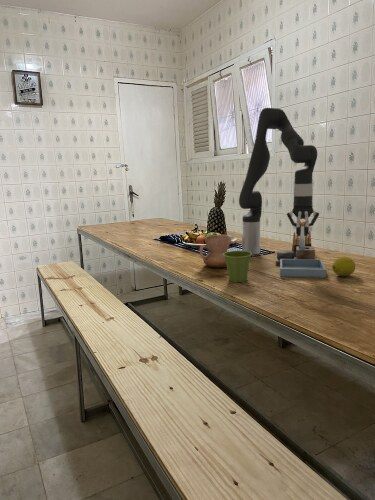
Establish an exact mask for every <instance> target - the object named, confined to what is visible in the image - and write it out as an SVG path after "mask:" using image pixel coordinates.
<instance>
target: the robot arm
mask: <svg viewBox="0 0 375 500" xmlns="http://www.w3.org/2000/svg"><path fill="white" fill-rule="evenodd" d="M291 123H292V122H290V120H289V118H288V116H287V114H286V112H285V111H284V110H283V109H281V108H275V107H264V108H262V110H260V113H259V116H258V121H257V128H256V133H255V141H254V143H253V148H252V152H251V156H250V159H249V163H248V169H247V171H246V176H245V180H244V182H243V185H242V188H241V190H240V194H239V198H238V204H239V205H238V206H239V207H240V208H241V209H242V210H248V211H249V212H247V213H246V214H245V215H243V216H242V236H241V239H242V241H241V243H242V245H241V246H242V250H241V251H248V252H251V253H252V255H251V256H253V255H259V254H261V217H262V211H263V198H262V194H261V192H260V191H259V190H254V189H255V186H256V185H257V184H258V182H259V181H260V179H261V178H262V177H263V176H264V175H265V174H266V172H267V170H268V167H269V164H270V159H271V153H270V150H269V146H268V144H267V132H268V130H278V131H279V132H281V133H280V140H281V142H282V144H283V145H284V146H285V147H286V149H287V150H288V153H289V157H290V160H291V162H292V163H295V164H304V165H303V167H302V168H300V169H296V170H295V172H294V186H293V209H292V210H291V211H289V212H288V211H287V213H286V216H287V218H288V220H289V222H290V224H291V226H293V227H295V234H296V235H298V236H300V227H299V226H300V221H301V220H304V221H305V222H306V224H305V236H307V235H308V234H309V230H310V229H309V228H310V227H312V226H314V225H315V222H316V221H317V219H318V218H319V216H320V213H319V212H318V211H316V210H314V208H313V192H314V191H313V190H314V189H313V187H314V186H313V173H314V168H315V165H316V162H317V159H318V149H317V147H316V146H315V145H311V144H309V145H304V144H305V142H304V139H303V138H302V137H301V136H300V135H299V134H298V132H297V131H296V130H295V129H294V127H293V126H292V124H291ZM293 215H294V216H295V217H296V222H295V221H294V219H293ZM311 216H312V218H311V221H310V219H309V218H310V217H311Z"/></svg>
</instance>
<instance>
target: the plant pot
mask: <svg viewBox="0 0 375 500" xmlns="http://www.w3.org/2000/svg"><path fill="white" fill-rule="evenodd" d="M223 256H224V258H225V261H226V265H227V266H226V271H227V276H228V279H229V281H230V282H232V283H238V282H240V283H243V282H247V280H248V276H249V275H248V273H249V269H250V261H251V258H252V257H251V256H253V255H252V253H251V252H248V251H242V250H230V251H227V252H225V253H223Z"/></svg>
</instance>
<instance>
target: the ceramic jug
mask: <svg viewBox="0 0 375 500" xmlns="http://www.w3.org/2000/svg"><path fill="white" fill-rule="evenodd" d="M231 237H232V236H231V235H229V234H214V235H208V236H204V243H205V244H202V245H200V246H199V255H200V257H201V258H202V261H203V264H204V265H206V266H208V267H211V268H219V269H221V268H227V265H226V261H225V258H224V256H223V253H225V252H228V249H229V247H230V245H231V244H232V245H234V244H235V241H234V240H232V238H231ZM204 249H208V251H209V252H208V253H207V254H206V255H204Z"/></svg>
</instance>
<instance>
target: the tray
mask: <svg viewBox="0 0 375 500" xmlns="http://www.w3.org/2000/svg"><path fill="white" fill-rule="evenodd" d="M279 271H280V272H279V277H280V278H307V279H308V278H309V279H310V278H313V279H314V278H315V279H326V278H327V269H326V266H325V264H324V262H323V259H319V258H317V259H316V258H315V259H280V265H279Z"/></svg>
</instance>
